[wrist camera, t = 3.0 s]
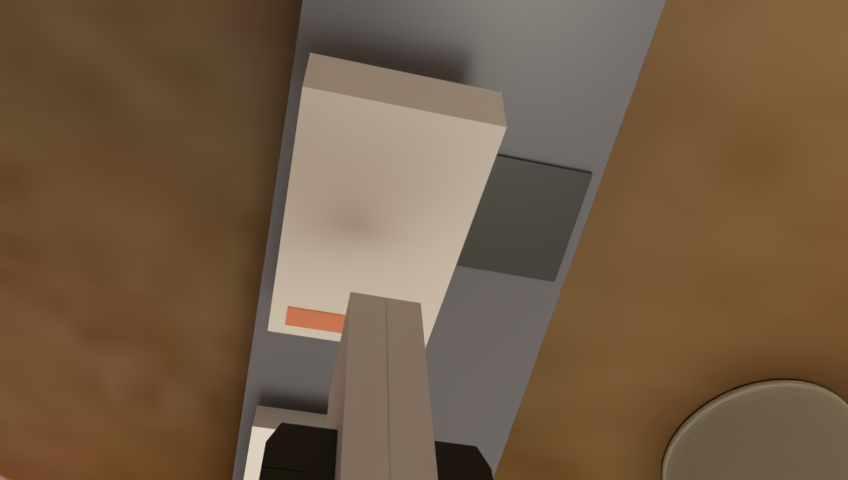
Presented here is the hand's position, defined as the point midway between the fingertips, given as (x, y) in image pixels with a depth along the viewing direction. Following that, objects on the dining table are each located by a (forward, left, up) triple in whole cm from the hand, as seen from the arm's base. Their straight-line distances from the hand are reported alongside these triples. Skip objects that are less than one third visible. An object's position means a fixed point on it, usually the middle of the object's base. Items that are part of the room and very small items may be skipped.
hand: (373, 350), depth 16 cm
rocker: (0, 0, -6) cm, 6 cm away
